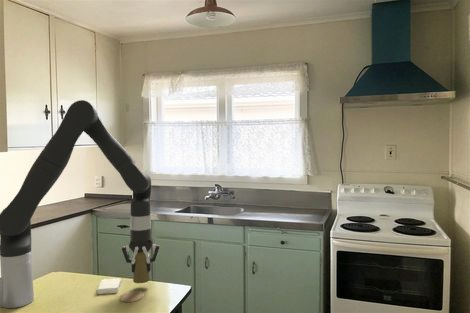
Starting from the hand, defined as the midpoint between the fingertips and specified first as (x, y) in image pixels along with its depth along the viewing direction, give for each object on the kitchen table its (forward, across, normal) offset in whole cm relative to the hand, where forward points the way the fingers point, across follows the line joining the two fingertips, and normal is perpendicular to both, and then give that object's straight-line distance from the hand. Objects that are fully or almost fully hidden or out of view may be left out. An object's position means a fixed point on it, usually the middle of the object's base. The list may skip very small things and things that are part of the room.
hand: (141, 272), depth 137 cm
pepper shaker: (+3, 0, 0) cm, 3 cm away
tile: (+5, +12, +3) cm, 13 cm away
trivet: (+6, +2, +8) cm, 10 cm away
